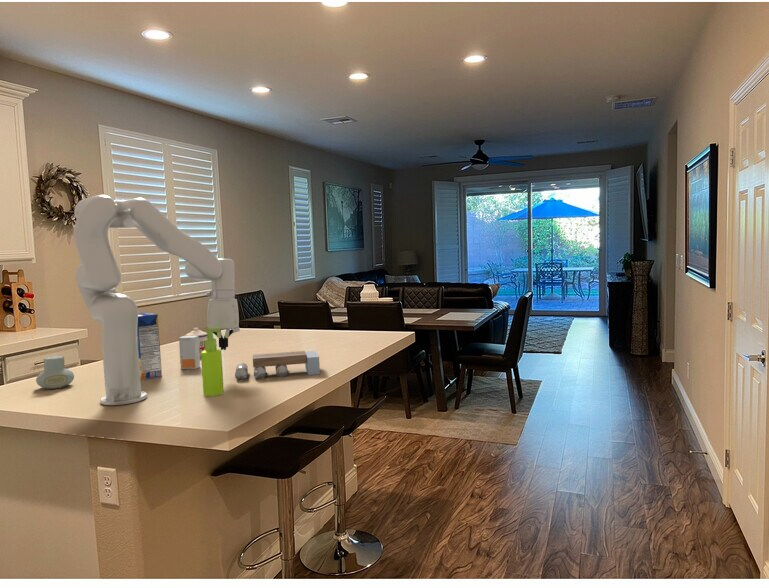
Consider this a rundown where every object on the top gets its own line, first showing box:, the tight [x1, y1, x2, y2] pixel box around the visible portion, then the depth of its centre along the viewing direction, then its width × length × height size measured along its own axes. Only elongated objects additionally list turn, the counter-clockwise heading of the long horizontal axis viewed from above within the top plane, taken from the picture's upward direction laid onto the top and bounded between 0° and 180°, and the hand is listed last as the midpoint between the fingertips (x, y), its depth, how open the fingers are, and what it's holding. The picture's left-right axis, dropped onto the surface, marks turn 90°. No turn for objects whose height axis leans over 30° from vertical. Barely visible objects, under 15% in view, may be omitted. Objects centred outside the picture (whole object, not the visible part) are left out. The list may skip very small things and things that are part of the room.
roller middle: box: [253, 366, 267, 380], centre depth 192 cm, size 11×4×4 cm
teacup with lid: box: [184, 327, 207, 358], centre depth 236 cm, size 12×9×12 cm
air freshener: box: [35, 355, 75, 390], centre depth 185 cm, size 11×8×10 cm
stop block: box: [304, 350, 321, 376], centre depth 196 cm, size 12×4×6 cm, turn 13°
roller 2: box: [274, 365, 289, 378], centre depth 194 cm, size 11×4×4 cm, turn 13°
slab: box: [252, 350, 307, 368], centre depth 193 cm, size 8×18×3 cm, turn 103°
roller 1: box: [234, 362, 249, 381], centre depth 191 cm, size 11×4×4 cm
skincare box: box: [178, 335, 201, 370], centre depth 209 cm, size 6×4×12 cm
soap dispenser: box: [200, 328, 225, 397], centre depth 168 cm, size 6×7×20 cm
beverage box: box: [137, 312, 163, 380], centre depth 198 cm, size 7×11×22 cm, turn 42°
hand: (223, 349), depth 188 cm, fingers closed
